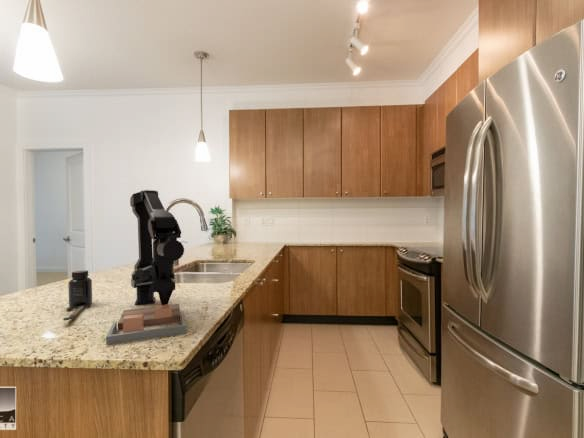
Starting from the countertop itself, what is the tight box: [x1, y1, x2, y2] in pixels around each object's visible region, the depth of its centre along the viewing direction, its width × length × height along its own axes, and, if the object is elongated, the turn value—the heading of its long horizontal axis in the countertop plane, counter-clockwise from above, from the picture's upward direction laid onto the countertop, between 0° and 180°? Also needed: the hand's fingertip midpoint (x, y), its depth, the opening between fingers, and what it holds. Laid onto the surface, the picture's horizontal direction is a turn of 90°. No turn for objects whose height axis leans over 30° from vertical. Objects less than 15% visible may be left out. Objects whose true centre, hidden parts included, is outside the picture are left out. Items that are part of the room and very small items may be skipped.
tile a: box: [122, 314, 145, 333], centre depth 78 cm, size 4×4×2 cm
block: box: [154, 303, 173, 319], centre depth 86 cm, size 4×4×2 cm
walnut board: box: [117, 303, 181, 331], centre depth 89 cm, size 12×16×2 cm
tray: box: [105, 313, 187, 346], centre depth 78 cm, size 10×18×3 cm, turn 113°
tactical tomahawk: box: [62, 303, 92, 321], centre depth 92 cm, size 21×7×1 cm, turn 22°
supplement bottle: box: [67, 269, 93, 307], centre depth 105 cm, size 7×7×12 cm
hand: (164, 307), depth 89 cm, fingers closed
